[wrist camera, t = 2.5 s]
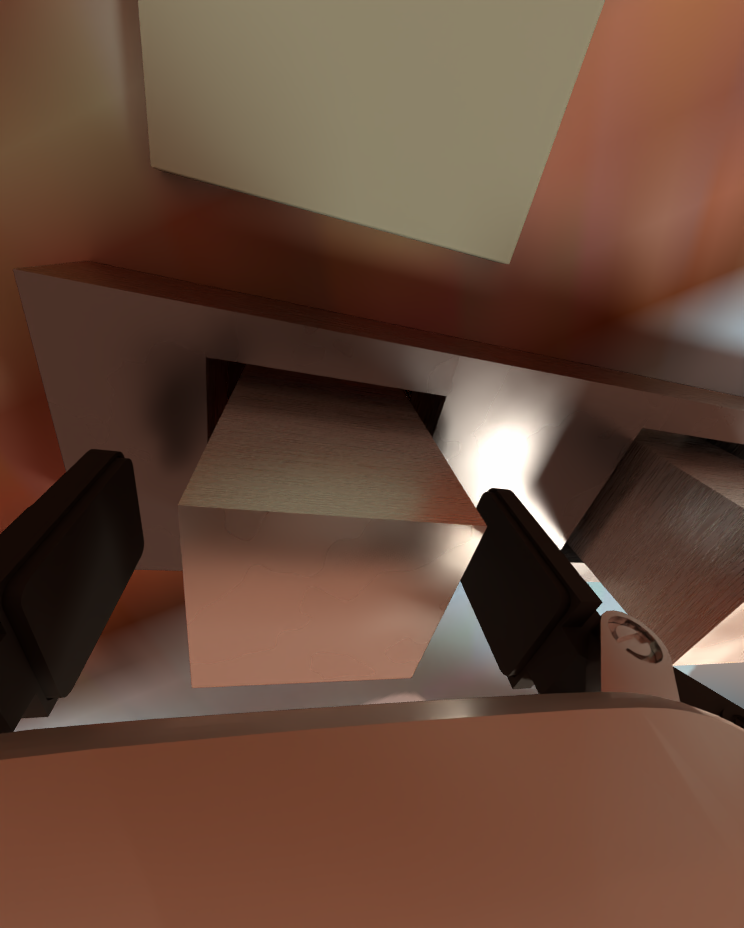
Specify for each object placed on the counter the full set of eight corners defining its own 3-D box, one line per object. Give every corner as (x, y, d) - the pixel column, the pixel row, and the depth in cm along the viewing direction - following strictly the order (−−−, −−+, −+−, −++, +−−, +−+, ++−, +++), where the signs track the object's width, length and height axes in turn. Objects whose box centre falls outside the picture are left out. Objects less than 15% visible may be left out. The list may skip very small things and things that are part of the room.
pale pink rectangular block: (367, 492, 16) (411, 677, 9) (244, 481, 15) (191, 687, 8) (396, 380, 13) (487, 526, 7) (250, 355, 12) (177, 504, 5)
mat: (500, 262, 12) (509, 264, 11) (159, 170, 9) (150, 166, 9) (622, -83, 8) (643, -106, 8) (120, -386, 6) (102, -444, 5)
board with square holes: (659, 543, 21) (706, 584, 19) (129, 510, 14) (91, 568, 12) (778, 404, 17) (861, 433, 14) (87, 261, 10) (12, 269, 7)
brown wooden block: (617, 513, 19) (783, 660, 13) (535, 506, 18) (671, 665, 11) (679, 427, 17) (930, 556, 10) (589, 412, 15) (805, 547, 9)
